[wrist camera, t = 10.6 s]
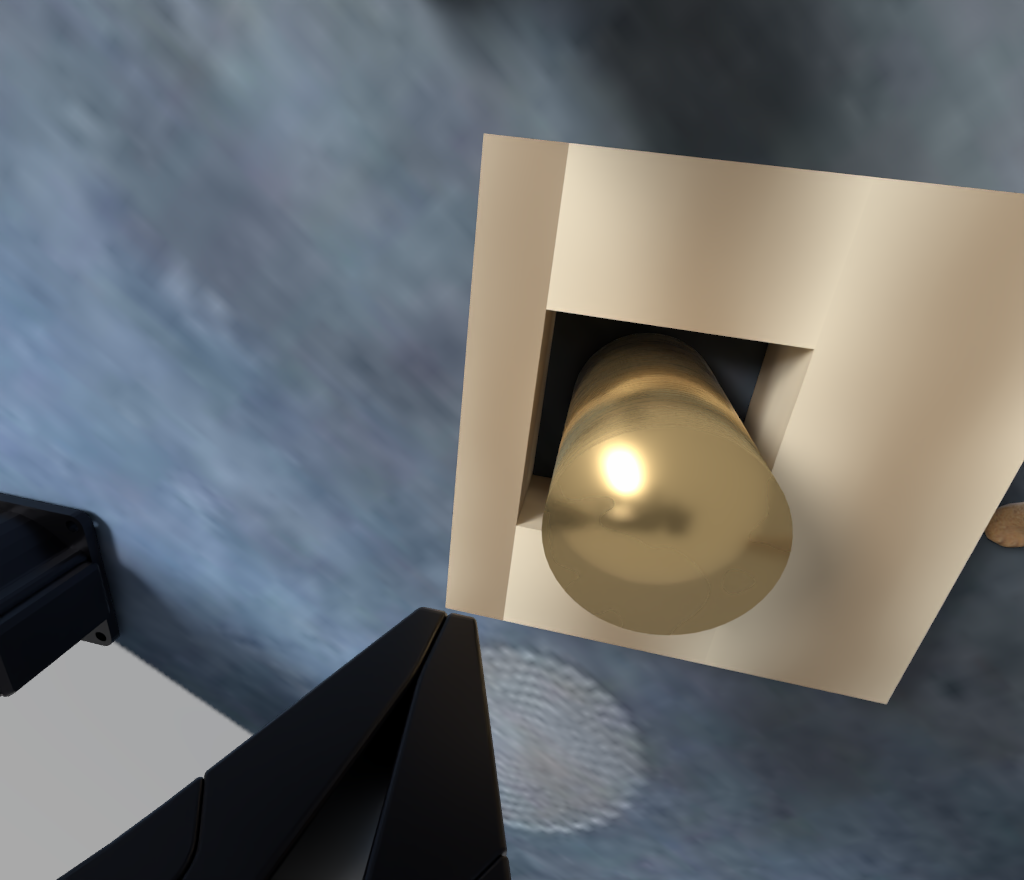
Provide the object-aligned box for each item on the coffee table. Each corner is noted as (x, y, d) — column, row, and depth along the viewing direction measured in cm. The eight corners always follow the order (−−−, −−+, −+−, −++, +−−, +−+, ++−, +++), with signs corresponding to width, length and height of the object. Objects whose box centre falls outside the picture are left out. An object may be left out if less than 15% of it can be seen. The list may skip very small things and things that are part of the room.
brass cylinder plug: (562, 453, 16) (527, 608, 10) (584, 322, 15) (560, 407, 8) (696, 478, 16) (750, 656, 9) (735, 344, 14) (830, 453, 8)
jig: (470, 548, 18) (445, 607, 15) (510, 149, 13) (483, 133, 11) (842, 624, 17) (886, 703, 14) (1039, 210, 12) (1164, 209, 9)
